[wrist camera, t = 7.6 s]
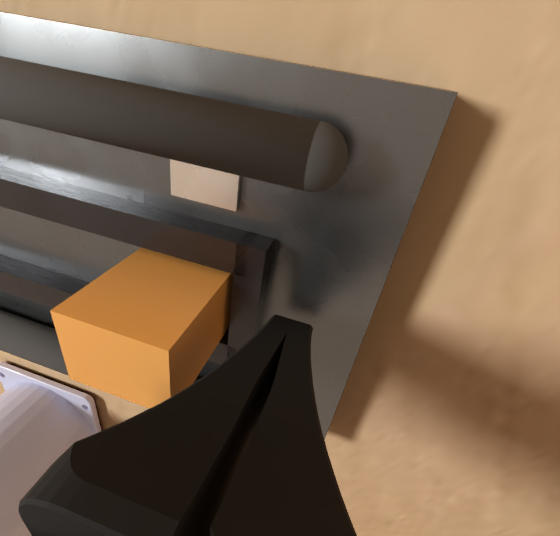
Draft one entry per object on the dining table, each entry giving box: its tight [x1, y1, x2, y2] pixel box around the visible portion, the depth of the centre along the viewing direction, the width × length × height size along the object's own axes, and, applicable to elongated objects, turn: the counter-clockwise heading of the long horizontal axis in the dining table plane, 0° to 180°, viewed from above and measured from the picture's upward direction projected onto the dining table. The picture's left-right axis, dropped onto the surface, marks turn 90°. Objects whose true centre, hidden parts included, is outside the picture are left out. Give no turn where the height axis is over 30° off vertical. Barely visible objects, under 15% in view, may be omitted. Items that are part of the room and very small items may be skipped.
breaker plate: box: [0, 11, 458, 439], centre depth 14 cm, size 16×24×2 cm, turn 82°
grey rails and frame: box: [0, 56, 348, 383], centre depth 13 cm, size 14×20×2 cm
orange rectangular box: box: [50, 247, 234, 408], centre depth 11 cm, size 3×4×4 cm
